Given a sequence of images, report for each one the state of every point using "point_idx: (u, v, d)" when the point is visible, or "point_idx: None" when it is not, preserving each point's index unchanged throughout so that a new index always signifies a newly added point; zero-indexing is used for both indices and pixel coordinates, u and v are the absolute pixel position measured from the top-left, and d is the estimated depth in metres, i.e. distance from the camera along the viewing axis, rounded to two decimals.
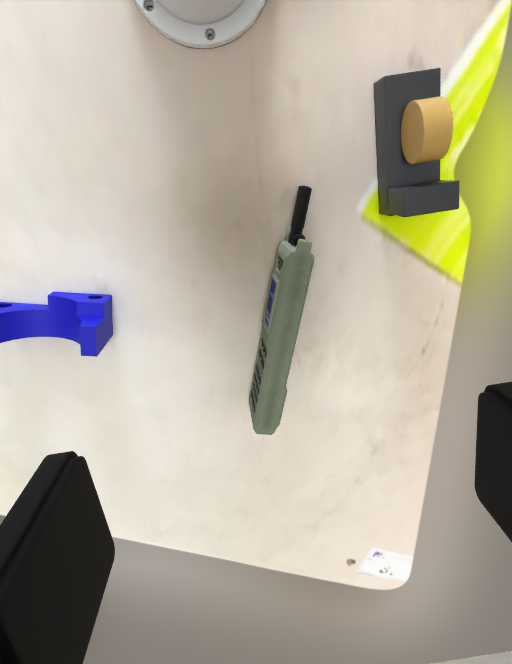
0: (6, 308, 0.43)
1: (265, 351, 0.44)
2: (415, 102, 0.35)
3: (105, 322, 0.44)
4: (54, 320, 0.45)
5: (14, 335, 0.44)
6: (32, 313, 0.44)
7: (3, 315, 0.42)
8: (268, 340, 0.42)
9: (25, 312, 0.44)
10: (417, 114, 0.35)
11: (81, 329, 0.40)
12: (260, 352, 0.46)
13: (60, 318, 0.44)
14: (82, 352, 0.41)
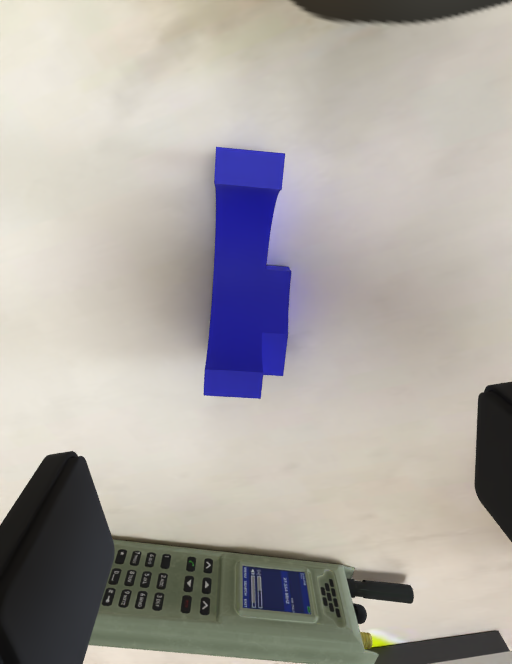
0: None
1: (208, 606, 0.29)
2: None
3: None
4: (246, 277, 0.25)
5: (224, 211, 0.22)
6: (261, 242, 0.24)
7: (268, 205, 0.22)
8: (230, 620, 0.28)
9: (265, 233, 0.24)
10: None
11: (256, 375, 0.22)
12: (193, 569, 0.31)
13: (249, 288, 0.25)
14: (211, 372, 0.22)
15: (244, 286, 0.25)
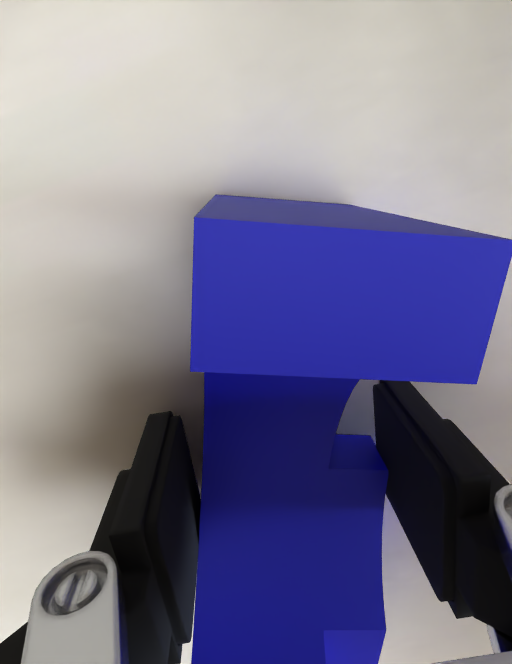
0: None
1: None
2: None
3: None
4: (280, 486, 0.10)
5: None
6: (321, 417, 0.09)
7: None
8: None
9: (336, 400, 0.09)
10: None
11: None
12: None
13: (289, 512, 0.10)
14: None
15: (276, 507, 0.10)
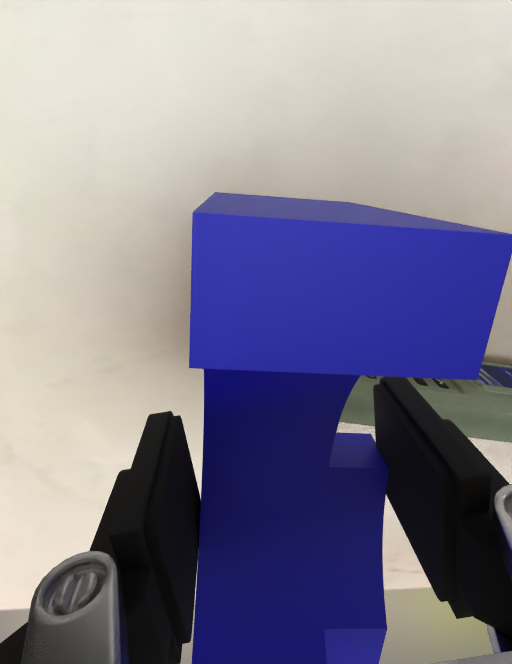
0: None
1: (444, 383, 0.24)
2: None
3: None
4: (281, 485, 0.10)
5: None
6: (321, 415, 0.09)
7: None
8: (477, 392, 0.24)
9: (336, 398, 0.09)
10: None
11: None
12: None
13: (289, 510, 0.10)
14: None
15: (277, 506, 0.10)
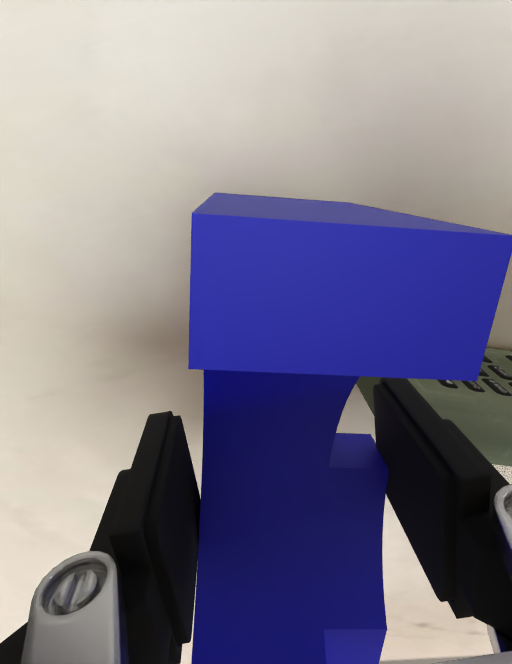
0: None
1: None
2: None
3: None
4: (280, 485, 0.10)
5: None
6: (321, 416, 0.09)
7: None
8: None
9: (335, 399, 0.09)
10: None
11: None
12: None
13: (289, 511, 0.10)
14: None
15: (276, 506, 0.10)
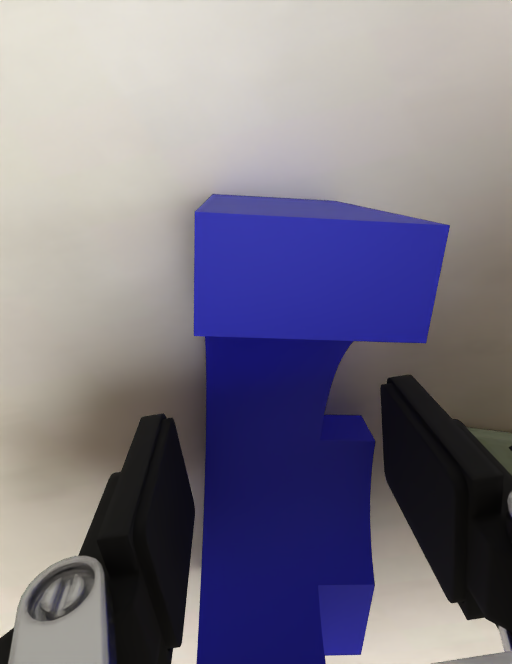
0: None
1: None
2: None
3: None
4: (277, 457, 0.11)
5: (227, 345, 0.09)
6: (311, 392, 0.10)
7: None
8: None
9: (324, 376, 0.10)
10: None
11: None
12: None
13: (285, 480, 0.11)
14: None
15: (273, 476, 0.11)
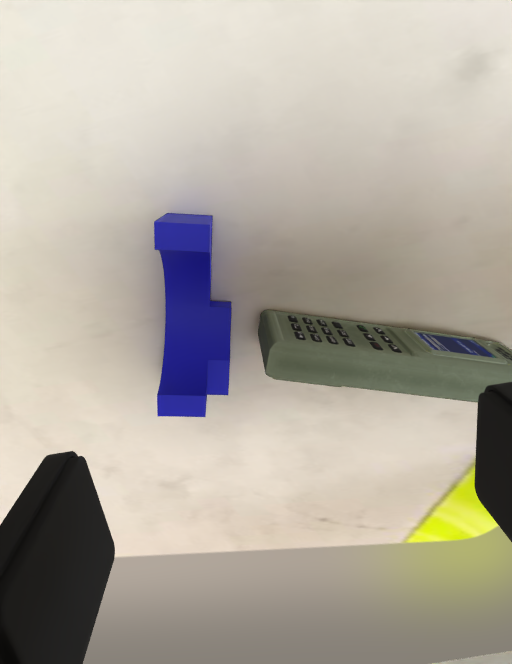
0: None
1: (398, 348, 0.28)
2: None
3: None
4: (193, 313, 0.30)
5: (170, 263, 0.27)
6: (203, 285, 0.29)
7: (205, 258, 0.27)
8: (426, 355, 0.27)
9: (206, 278, 0.28)
10: None
11: (200, 398, 0.27)
12: (367, 330, 0.30)
13: (196, 323, 0.30)
14: (162, 397, 0.27)
15: (192, 321, 0.30)
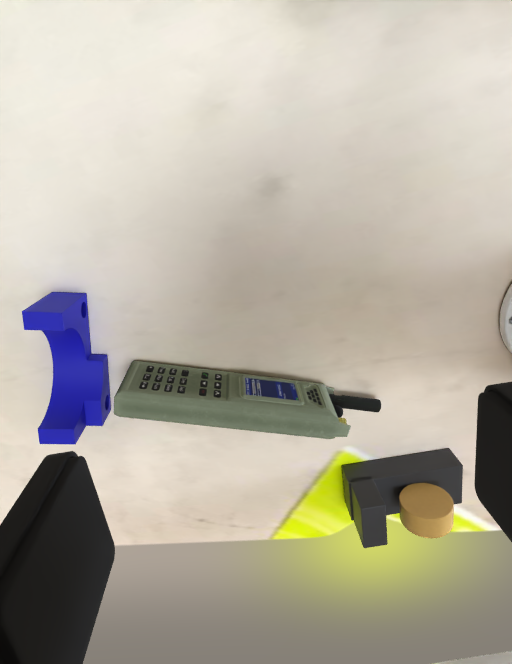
0: (81, 320, 0.38)
1: (219, 393, 0.38)
2: (452, 502, 0.42)
3: None
4: (74, 365, 0.40)
5: (48, 332, 0.37)
6: (79, 345, 0.39)
7: (72, 329, 0.36)
8: (237, 400, 0.37)
9: (79, 341, 0.38)
10: (445, 507, 0.41)
11: (70, 431, 0.37)
12: (207, 377, 0.40)
13: (77, 372, 0.40)
14: (41, 430, 0.37)
15: (73, 371, 0.40)
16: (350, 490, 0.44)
